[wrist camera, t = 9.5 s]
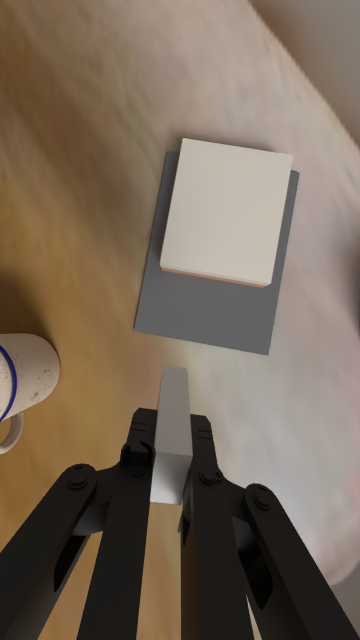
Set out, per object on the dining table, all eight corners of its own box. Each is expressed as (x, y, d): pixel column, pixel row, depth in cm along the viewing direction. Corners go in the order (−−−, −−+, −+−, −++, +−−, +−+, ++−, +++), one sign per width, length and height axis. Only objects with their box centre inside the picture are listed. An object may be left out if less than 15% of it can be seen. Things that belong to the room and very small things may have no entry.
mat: (266, 355, 30) (268, 355, 29) (134, 330, 30) (133, 330, 30) (298, 174, 30) (299, 172, 30) (167, 153, 31) (167, 151, 31)
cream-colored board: (270, 283, 27) (293, 155, 27) (159, 263, 27) (182, 137, 27) (262, 287, 30) (282, 172, 30) (162, 270, 30) (183, 156, 30)
